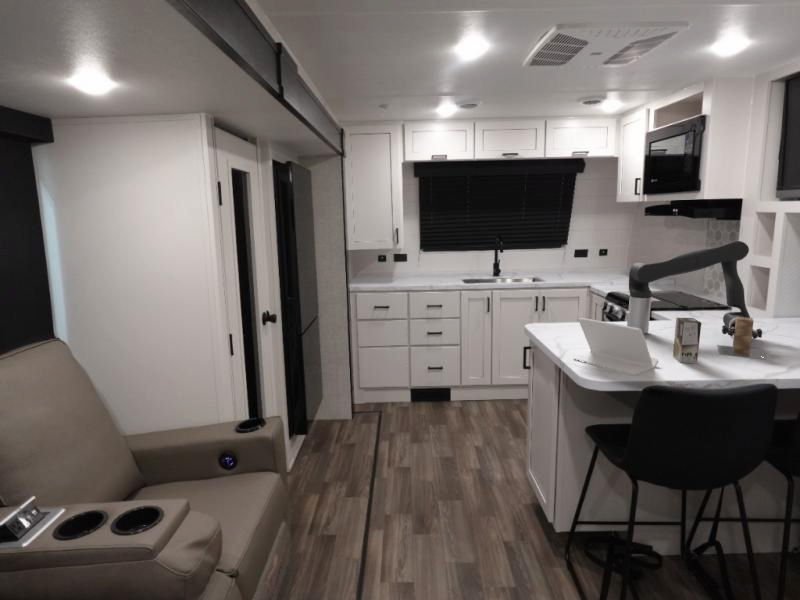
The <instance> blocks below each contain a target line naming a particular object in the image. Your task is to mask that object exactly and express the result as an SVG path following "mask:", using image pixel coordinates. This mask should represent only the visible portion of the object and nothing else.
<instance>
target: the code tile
mask: <svg viewBox="0 0 800 600" xmlns="http://www.w3.org/2000/svg"><path fill="white" fill-rule="evenodd" d="M716 347H717V351H718V355H721V356H730V357H739V358H747V359H756V360H757V359H758V360H766V359H767V356H766V355H765V353H764V351H763V349H760V348H759V349H758V348H750V354H740V353H733V350H732V348H733V346H729V345H720V344H717V345H716ZM763 353H764V354H763ZM761 356H762V357H764V358H762V357H761ZM766 361H767V360H766Z"/></svg>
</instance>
